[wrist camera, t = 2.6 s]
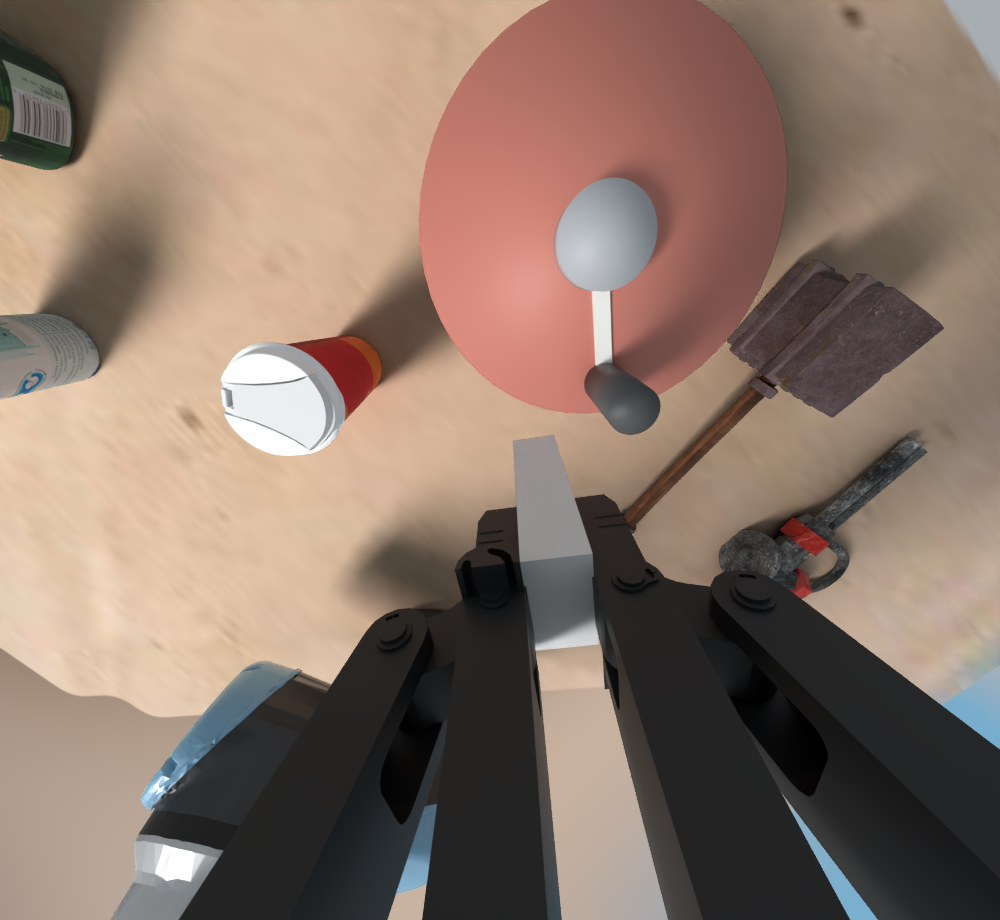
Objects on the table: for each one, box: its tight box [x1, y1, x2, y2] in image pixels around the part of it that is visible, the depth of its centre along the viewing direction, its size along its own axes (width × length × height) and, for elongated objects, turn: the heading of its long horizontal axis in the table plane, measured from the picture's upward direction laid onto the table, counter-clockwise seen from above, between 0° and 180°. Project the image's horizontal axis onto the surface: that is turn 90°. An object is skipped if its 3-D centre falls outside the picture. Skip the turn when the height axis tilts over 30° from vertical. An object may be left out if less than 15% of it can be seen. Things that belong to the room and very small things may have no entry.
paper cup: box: [221, 336, 382, 456], centre depth 30 cm, size 8×8×14 cm
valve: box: [719, 437, 927, 599], centre depth 43 cm, size 6×26×15 cm
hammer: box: [622, 260, 944, 534], centre depth 36 cm, size 7×33×10 cm, turn 152°
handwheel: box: [419, 0, 787, 435], centre depth 20 cm, size 20×20×10 cm
